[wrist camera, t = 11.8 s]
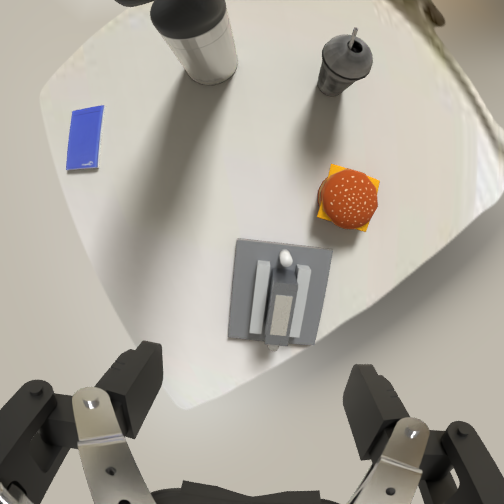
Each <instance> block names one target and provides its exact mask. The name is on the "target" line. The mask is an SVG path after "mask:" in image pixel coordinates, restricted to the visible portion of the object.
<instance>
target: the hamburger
mask: <svg viewBox="0 0 504 504" xmlns="http://www.w3.org/2000/svg"><path fill="white" fill-rule="evenodd" d="M379 182H380V181H379V180H377V179H374V178H372V177H369V176H367V175H366V174H365V173H362V172H359V171H355V170H352V169H348V168H344V167H341V166H338V165H334V164H331V166H330V171H329V175H328V177H327V178H326V179H325V180H324V181H323V182H322V184H321V186H320V188H319V190H318V203H319V206H320V208H319V211H318V215H317V217H318V218H322V219H325V220H328V221H331V222H333V223H334V224H335V225H336V226H339V227H341V228H343V229H357V230H360V231H364V232H366V230H367V227H368V224H369V222H370V219H371V217H372V216H373V214H374V212H375V210H376V209H377V207H378V203H377V192H378V187H379Z"/></svg>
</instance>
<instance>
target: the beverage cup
mask: <svg viewBox="0 0 504 504" xmlns="http://www.w3.org/2000/svg"><path fill="white" fill-rule="evenodd" d="M357 31H358V28H356V27H355V28H354V30H353V33H352V35H339V36H336V37H334V38H332V39H331V40H330V41H329V42H328V43H327V44H325V46H324V48H323V50H322V65H321V69H320V73H319V77H318V87H319V89H320V90H321V92H323V93H324V94H326V95H328V96H336V95H338V94H340V93H342V92H343V91H344V90H345V89H347V88H348V87H349V86H350V85H352V84H353V83H354V82H355V81H357V80H360V79H362V78H365V77H366V76H367V75H368V74H369V72H370V70H371V66H372V63H373V57H372V53H371V50H370V48H369V47H368V45H367V44H366V43H365V42H364V41H363V40H361V39H360V38H358V37H356V34H357Z"/></svg>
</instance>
